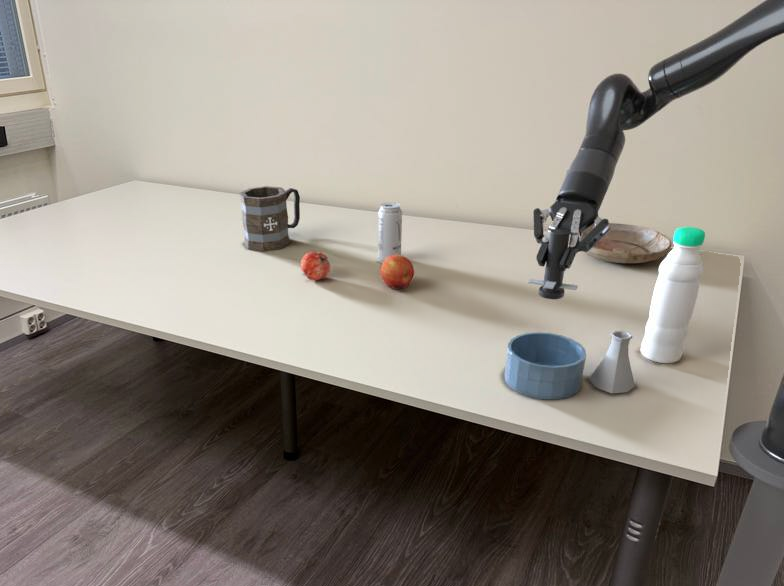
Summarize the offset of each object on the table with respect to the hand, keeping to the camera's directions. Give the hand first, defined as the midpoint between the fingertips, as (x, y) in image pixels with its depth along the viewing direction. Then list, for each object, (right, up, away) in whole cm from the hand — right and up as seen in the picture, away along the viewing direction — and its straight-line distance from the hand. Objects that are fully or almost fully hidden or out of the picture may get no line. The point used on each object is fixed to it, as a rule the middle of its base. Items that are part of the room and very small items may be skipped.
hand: (551, 266), depth 117 cm
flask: (+12, -21, +3) cm, 24 cm away
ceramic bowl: (+39, +11, +57) cm, 70 cm away
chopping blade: (+2, -5, +4) cm, 7 cm away
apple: (-21, +1, +45) cm, 50 cm away
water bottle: (+25, -16, +10) cm, 31 cm away
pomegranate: (-41, +4, +53) cm, 67 cm away
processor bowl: (0, -20, +5) cm, 21 cm away
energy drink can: (-21, +10, +61) cm, 66 cm away
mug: (-52, +19, +80) cm, 97 cm away
